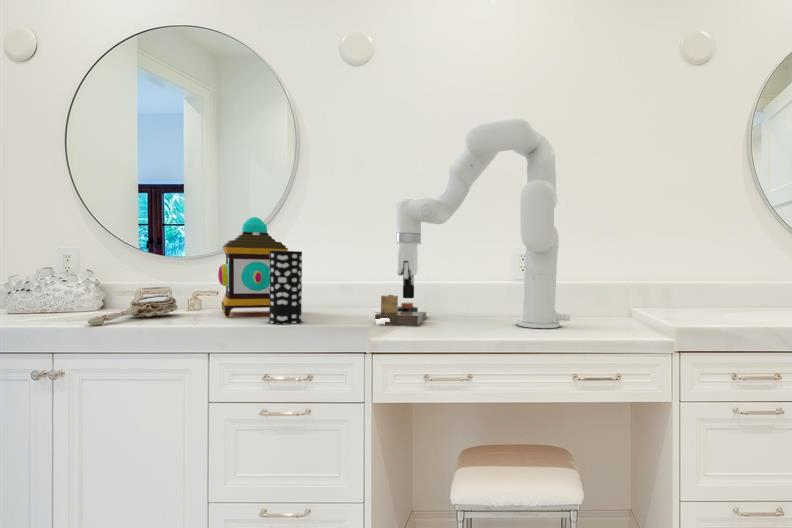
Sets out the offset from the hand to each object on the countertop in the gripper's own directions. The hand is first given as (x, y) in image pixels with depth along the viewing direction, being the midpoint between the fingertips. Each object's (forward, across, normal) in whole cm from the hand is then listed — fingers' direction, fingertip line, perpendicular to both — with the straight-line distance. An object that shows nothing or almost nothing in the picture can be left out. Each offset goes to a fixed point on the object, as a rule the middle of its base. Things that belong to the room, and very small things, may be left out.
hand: (408, 297), depth 173 cm
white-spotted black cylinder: (+6, +18, -32) cm, 37 cm away
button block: (+6, 0, 0) cm, 7 cm away
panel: (+6, +13, 0) cm, 14 cm away
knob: (+3, +13, -4) cm, 14 cm away
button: (+3, 0, 0) cm, 3 cm away
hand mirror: (+6, +21, -72) cm, 75 cm away
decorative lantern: (+6, +1, -48) cm, 48 cm away
